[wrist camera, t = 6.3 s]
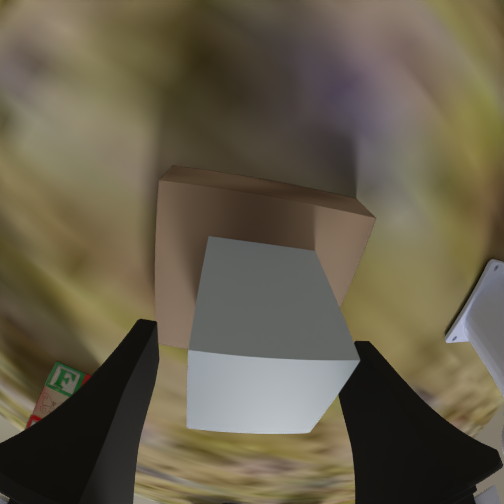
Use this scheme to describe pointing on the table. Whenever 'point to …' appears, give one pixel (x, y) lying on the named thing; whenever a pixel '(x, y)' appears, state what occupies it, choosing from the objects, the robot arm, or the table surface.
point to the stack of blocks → (57, 390)
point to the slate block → (265, 341)
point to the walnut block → (245, 234)
